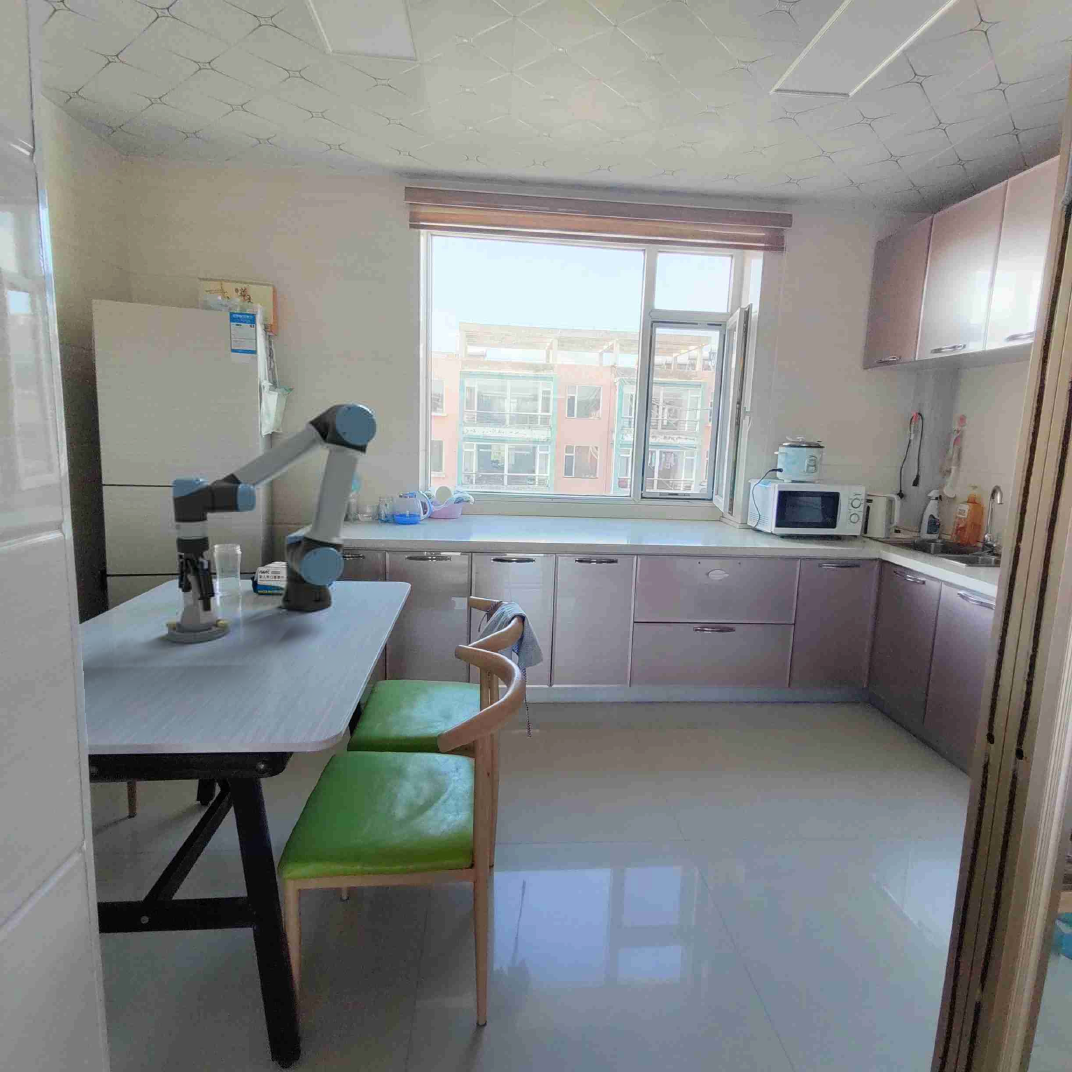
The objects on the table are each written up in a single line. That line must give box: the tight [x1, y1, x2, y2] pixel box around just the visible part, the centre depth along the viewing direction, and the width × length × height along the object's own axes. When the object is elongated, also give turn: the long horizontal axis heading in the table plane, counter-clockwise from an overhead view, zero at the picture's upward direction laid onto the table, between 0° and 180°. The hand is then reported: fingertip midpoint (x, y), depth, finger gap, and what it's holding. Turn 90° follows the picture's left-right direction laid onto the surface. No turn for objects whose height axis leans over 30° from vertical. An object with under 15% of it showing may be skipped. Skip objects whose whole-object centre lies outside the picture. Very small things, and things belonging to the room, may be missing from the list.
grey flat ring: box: [165, 617, 230, 644], centre depth 167 cm, size 15×15×3 cm
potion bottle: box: [179, 567, 218, 633], centre depth 165 cm, size 9×9×18 cm
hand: (198, 618), depth 166 cm, fingers closed on potion bottle, 9 cm apart
